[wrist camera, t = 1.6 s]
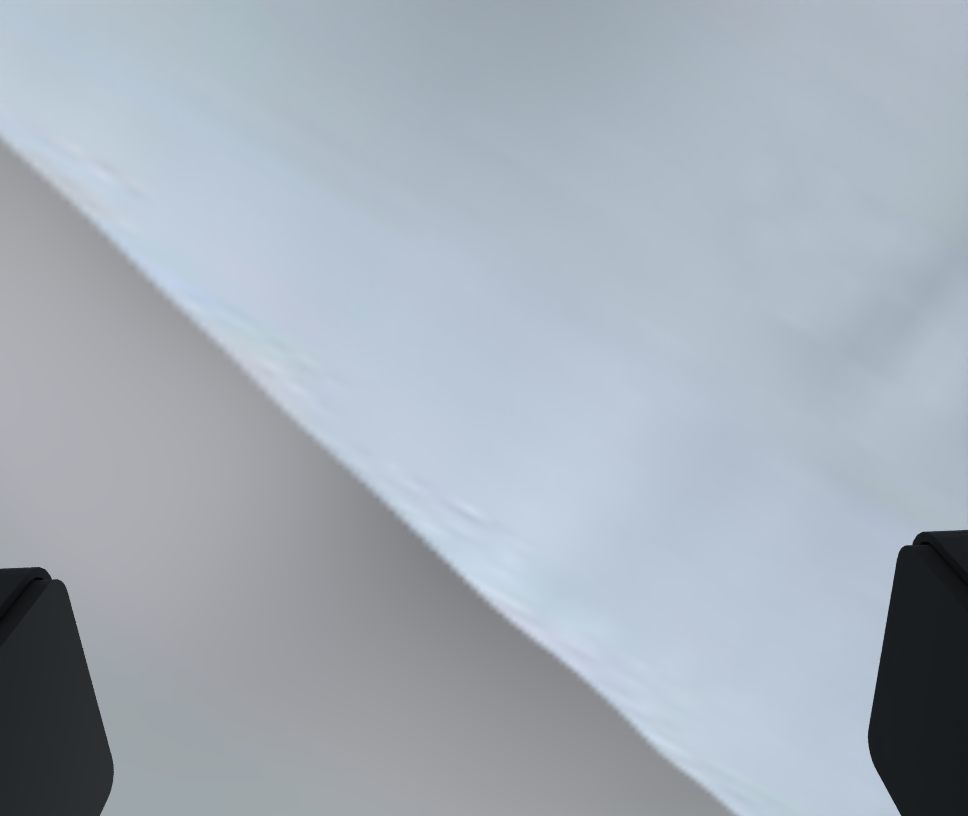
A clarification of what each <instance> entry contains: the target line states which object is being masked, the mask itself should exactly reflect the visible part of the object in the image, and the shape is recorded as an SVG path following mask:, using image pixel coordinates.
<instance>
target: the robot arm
mask: <svg viewBox="0 0 968 816" xmlns="http://www.w3.org/2000/svg"><path fill="white" fill-rule="evenodd" d="M868 744H869V750H870V755H871V758H872V761H873V764H874V766H875V768H876V770H877V772H878V774H879V776H880V778H881V779H882V781H883V783H884V785H885V787H886V789H887V790H888V792H889V794H890V796H891V798H892V800H893V801H894V803H895V805H896V807H897V809H898V811H899V812H900V814H901V816H968V530H957V531H932V532H922V533H920V534H918V535H917V536H916V538H915V539H914V541H913V544H912V545H907V546H904V547H902V548H901V550H900V551H899V554H898V558H897V563H896V569H895V575H894V581H893V587H892V593H891V599H890V605H889V611H888V617H887V622H886V628H885V634H884V640H883V646H882V652H881V658H880V664H879V670H878V676H877V682H876V688H875V694H874V700H873V706H872V712H871V718H870V724H869V730H868ZM113 770H114V769H113V760H112V756H111V753H110V748H109V745H108V741H107V737H106V734H105V730H104V726H103V722H102V718H101V715H100V711H99V707H98V704H97V700H96V696H95V693H94V689H93V685H92V681H91V677H90V674H89V670H88V666H87V663H86V659H85V655H84V651H83V648H82V644H81V640H80V637H79V633H78V629H77V625H76V621H75V618H74V614H73V610H72V607H71V603H70V599H69V595H68V592H67V589H66V587H65V585H64V583H63V582H62V581H60V580H58V579H55V580H52V579H51V577H50V575H49V574H48V572H47V571H46V570H45V569H43V568H40V567H31V568H8V569H0V816H100V814H101V812H102V810H103V807H104V805H105V803H106V801H107V799H108V797H109V794H110V791H111V787H112V783H113V775H114V771H113Z"/></svg>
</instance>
